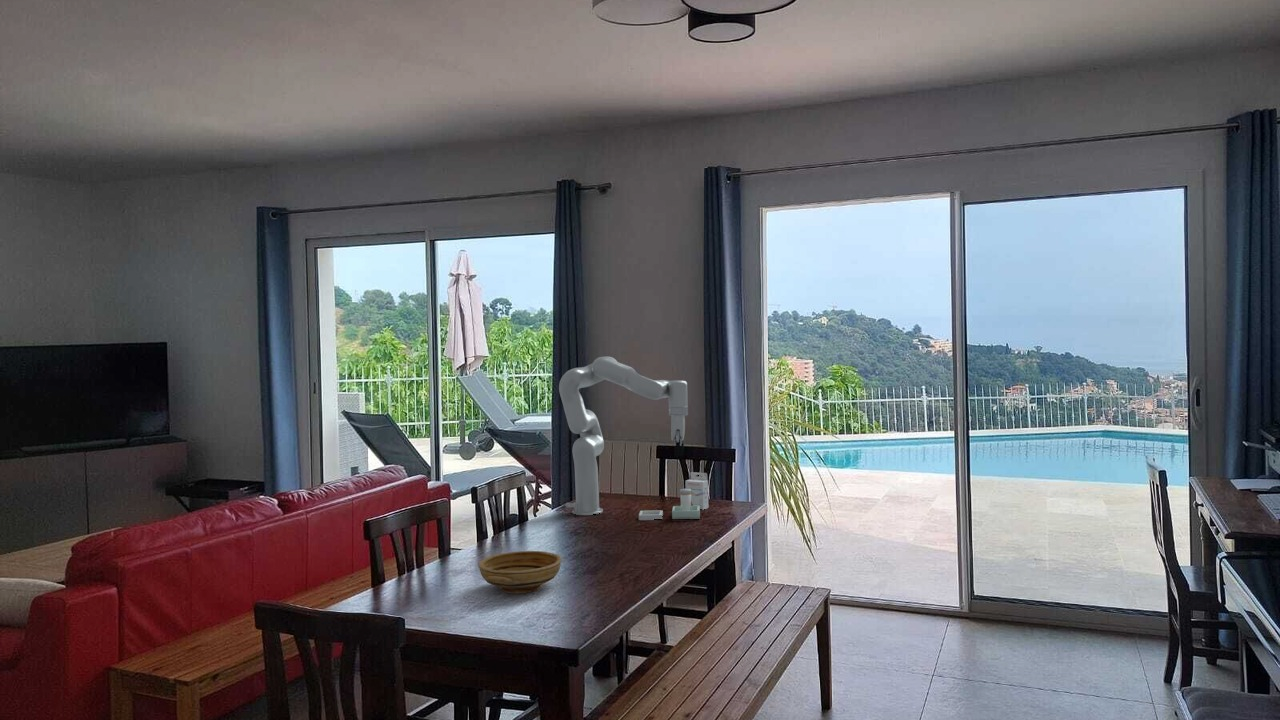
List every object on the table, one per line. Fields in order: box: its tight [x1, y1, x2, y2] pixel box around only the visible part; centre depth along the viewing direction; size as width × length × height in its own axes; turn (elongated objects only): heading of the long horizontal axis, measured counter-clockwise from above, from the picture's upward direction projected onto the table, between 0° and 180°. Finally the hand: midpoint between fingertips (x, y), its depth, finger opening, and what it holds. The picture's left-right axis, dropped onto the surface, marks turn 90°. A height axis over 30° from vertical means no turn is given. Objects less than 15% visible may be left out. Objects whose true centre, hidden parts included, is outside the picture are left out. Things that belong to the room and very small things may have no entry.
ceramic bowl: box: [477, 550, 563, 594], centre depth 256 cm, size 30×24×8 cm
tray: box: [671, 505, 701, 519], centre depth 349 cm, size 11×11×4 cm
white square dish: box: [638, 509, 664, 521], centre depth 350 cm, size 9×9×2 cm
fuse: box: [679, 488, 691, 511], centre depth 349 cm, size 4×4×10 cm
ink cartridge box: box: [684, 471, 709, 511], centre depth 366 cm, size 9×5×15 cm, turn 58°
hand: (678, 454), depth 351 cm, fingers open, 9 cm apart
